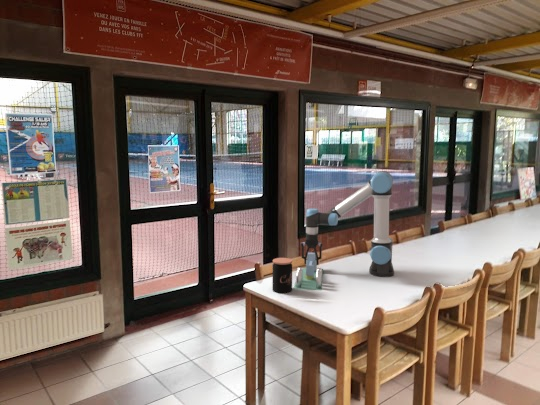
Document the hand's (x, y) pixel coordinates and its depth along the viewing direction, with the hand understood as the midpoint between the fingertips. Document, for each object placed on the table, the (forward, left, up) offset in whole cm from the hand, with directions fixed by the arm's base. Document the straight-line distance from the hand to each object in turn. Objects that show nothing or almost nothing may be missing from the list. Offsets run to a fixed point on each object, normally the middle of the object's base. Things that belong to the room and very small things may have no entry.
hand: (311, 269), depth 263 cm
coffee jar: (+14, +38, -2) cm, 41 cm away
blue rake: (0, +7, +1) cm, 7 cm away
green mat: (0, +15, -2) cm, 15 cm away
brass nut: (0, +16, -1) cm, 16 cm away
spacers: (0, +27, -1) cm, 27 cm away
